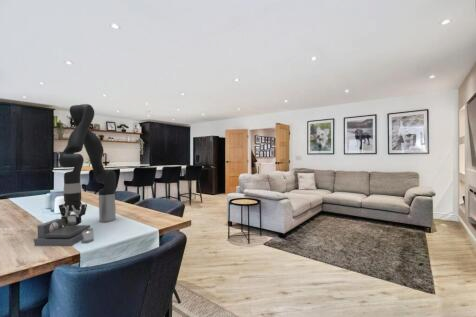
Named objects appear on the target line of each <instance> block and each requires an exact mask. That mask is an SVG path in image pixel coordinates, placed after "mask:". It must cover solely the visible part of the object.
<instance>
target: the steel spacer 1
mask: <svg viewBox="0 0 476 317" xmlns="http://www.w3.org/2000/svg"><path fill="white" fill-rule="evenodd" d="M76 217H77V216H76V214H75V213H72V214H70V215H68V216H67V220H68V226H75V225H79V224H76Z"/></svg>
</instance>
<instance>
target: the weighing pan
mask: <svg viewBox="0 0 476 317" xmlns="http://www.w3.org/2000/svg"><path fill="white" fill-rule="evenodd" d="M86 229H91V225H89V224H86V225H84V224H83V225H82V224H81V225H80V224H78V225H75V226H68V225H66V226H63V227H61V228H59V229H56V230H54V231H52V232H49V233H47V234H44V235H43V237H72V236H74V235H76V234H78V233H80V232H82V231H84V230H86Z"/></svg>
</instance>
